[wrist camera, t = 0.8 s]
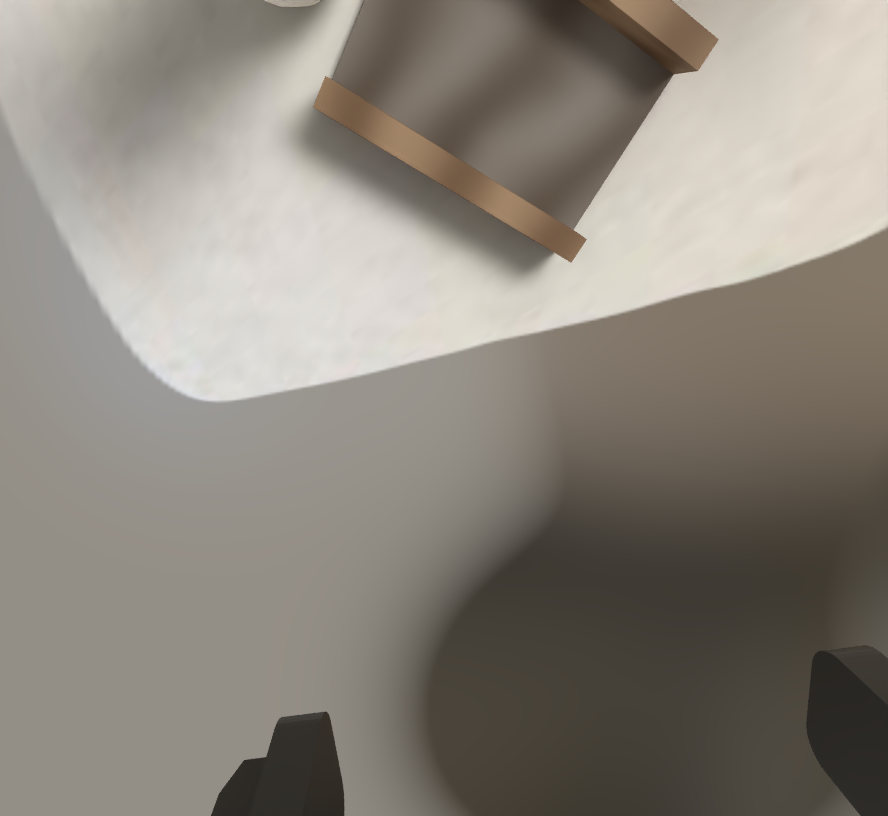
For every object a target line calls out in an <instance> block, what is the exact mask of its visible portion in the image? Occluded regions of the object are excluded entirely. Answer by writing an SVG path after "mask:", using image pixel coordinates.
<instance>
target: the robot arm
mask: <svg viewBox="0 0 888 816" xmlns="http://www.w3.org/2000/svg"><path fill="white" fill-rule="evenodd" d="M806 727H807V735H808V739H809V742H810V745H811V748H812V750H813V752H814V755H815V756H816V758H817V760H818V762H819V764H820V765H821V767H822V768H823V769H824V771H825V772H826V773H827V774H828V776H829V777H830V778H831V779H832V781H833V782H834V783H835V784H836V786H837V787H838V788H839V789H840V791H841V792H842V793H843V794H844V796H845V797H846V798H847V799H848V801H849V802H850V803H851V804H852V805H853V807H854V808H855V809H856V810H857V812H858V813H859V814H860V815H861V816H888V658H887V657H885V656H884V655H883V654H882V653H881V652H879V651H878V650H876V649H875V648H873V647H870V646H866V645H863V646H855V647H847V648H839V649H831V650H823V651H819V652H817V653H816V654H815V655H814V657H813V660H812V669H811V680H810V690H809V700H808V711H807V722H806ZM211 816H344V790H343V783H342V777H341V772H340V767H339V761H338V756H337V751H336V746H335V741H334V736H333V731H332V725H331V720H330V717H329V714H328V713H327V712H320V713H312V714H304V715H296V716H287V717H281V718H280V719H279V720H278V722H277V724H276V727H275V730H274V733H273V736H272V740H271V743H270V746H269V750H268V753H267V757H265V758H257V759H250V760H244V761H243V762H242V764H241V765H240V766H239V768H238V769H237V770H236V772H235V773H234V774H233V776H232V777H231V778H230V780H229V781H228V783H227V784H226V785H225V787H224V788H223V789H222V791H221V792H220V793H219V795H218V798H217V801H216V804H215V806H214V809H213V812H212V814H211Z"/></svg>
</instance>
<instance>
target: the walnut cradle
mask: <svg viewBox="0 0 888 816" xmlns="http://www.w3.org/2000/svg"><path fill="white" fill-rule="evenodd" d="M718 40H719V39H717V38H716V37H715V36H714V35H713V34H711V33H710V32H709V31H708V30H707V29H705V28H704V27H703V26H702V25H701V24H699V23H698V22H697V21H696V20H695V19H693V18H692V17H691V16H690V15H688V14H687V13H686V12H685V11H684V10H682V9H681V8H680V7H679V6H678V5H676V4H675V3H674V2H673V1H672V0H364V3H363V5H362V8H361V10H360V12H359V15H358V17H357V20H356V22H355V25H354V27H353V30H352V32H351V35H350V37H349V40H348V42H347V44H346V47H345V49H344V52H343V54H342V57H341V59H340V62H339V64H338V67H337V69H336V72H335V74H334V76H333V79H330V78H328V77H326V76H325V79H324V81H323V84H322V86H321V89H320V91H319V94H318V96H317V99H316V101H315V104H314V106H313V107H314V108H315V109H317V110H319V111H320V112H322V113H324V114H325V115H327V116H329V117H330V118H332V119H334V120H335V121H337V122H339V123H340V124H342V125H344V126H345V127H347V128H349V129H350V130H352V131H354V132H355V133H357V134H358V135H360V136H362V137H363V138H365V139H367V140H368V141H370V142H372V143H373V144H375V145H377V146H378V147H380V148H382V149H383V150H385V151H387V152H388V153H390V154H392V155H393V156H395V157H397V158H398V159H400V160H402V161H403V162H405V163H407V164H408V165H410V166H412V167H413V168H415V169H417V170H418V171H420V172H422V173H423V174H425V175H427V176H428V177H430V178H432V179H433V180H435V181H437V182H438V183H440V184H441V185H443V186H445V187H446V188H448V189H450V190H451V191H453V192H455V193H456V194H458V195H460V196H461V197H463V198H465V199H466V200H468V201H470V202H471V203H473V204H475V205H476V206H478V207H480V208H481V209H483V210H485V211H486V212H488V213H490V214H491V215H493V216H495V217H496V218H498V219H500V220H501V221H503V222H505V223H506V224H508V225H510V226H511V227H513V228H515V229H516V230H518V231H520V232H521V233H523V234H524V235H526V236H528V237H529V238H531V239H533V240H534V241H536V242H538V243H539V244H541V245H543V246H544V247H546V248H548V249H549V250H551V251H553V252H554V253H556V254H558V255H559V256H561V257H563V258H564V259H566V260H568V261H569V262H572V261H573V259H574V258H575V256H576V255H577V253H578V252H579V250H580V249H581V247H582V246H583V244H584V243H585V241H586V240H587V239H585V238H584V237H583V236H581V235H580V234H578V233H577V232H575V231H574V228H575V226H576V225H577V223H578V222H579V220H580V219H581V217H582V216H583V214H584V212H585V211H586V209H587V208H588V206H589V205H590V203H591V202H592V200H593V199H594V197H595V195H596V194H597V192H598V191H599V189H600V188H601V186H602V185H603V183H604V181H605V180H606V178H607V177H608V175H609V174H610V172H611V171H612V169H613V167H614V166H615V164H616V163H617V161H618V160H619V158H620V157H621V155H622V154H623V152H624V150H625V149H626V147H627V146H628V144H629V143H630V141H631V140H632V138H633V136H634V135H635V133H636V132H637V130H638V129H639V127H640V126H641V124H642V123H643V121H644V119H645V118H646V116H647V115H648V113H649V112H650V110H651V109H652V107H653V105H654V104H655V102H656V101H657V99H658V98H659V96H660V95H661V93H662V92H663V90H664V88H665V87H666V85H667V84H668V82H669V81H670V79H671V78H672V76H673V74H679V73H686V72H693V71H698V70H699V69H700V67H701V65H702V64H703V62H704V61H705V59H706V58H707V56H708V55H709V53H710V52H711V50H712V49H713V47H714V46H715V44H716V43H717V41H718Z"/></svg>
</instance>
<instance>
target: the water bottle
mask: <svg viewBox="0 0 888 816" xmlns="http://www.w3.org/2000/svg"><path fill="white" fill-rule="evenodd" d="M264 1H266V2H269V3H272V4H274V5H277V6H281V7H304V6H311V5H314V4H316V3H318V2H320V1H322V0H264Z"/></svg>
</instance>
